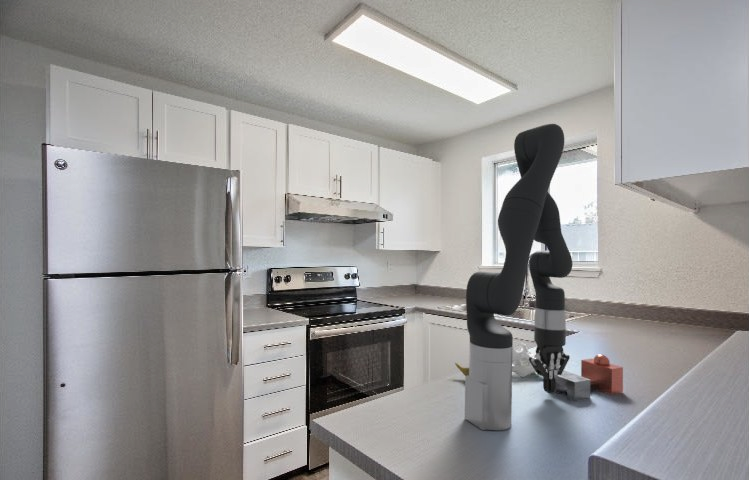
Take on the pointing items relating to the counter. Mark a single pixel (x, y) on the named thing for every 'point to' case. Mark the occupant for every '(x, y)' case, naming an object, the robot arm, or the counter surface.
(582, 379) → the block
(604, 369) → the red domed block
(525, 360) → the jaw support
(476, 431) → the counter surface
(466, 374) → the neti pot
